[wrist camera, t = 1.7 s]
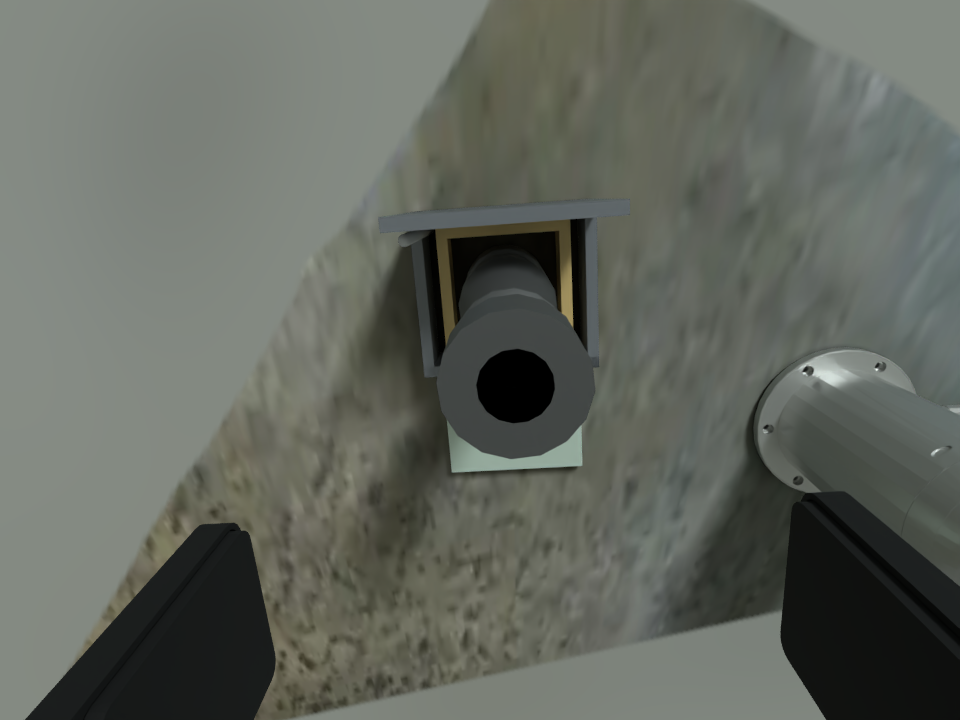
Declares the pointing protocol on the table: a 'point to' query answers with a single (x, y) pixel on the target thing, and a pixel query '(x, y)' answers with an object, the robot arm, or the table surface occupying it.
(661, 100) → the table surface
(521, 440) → the candle holder
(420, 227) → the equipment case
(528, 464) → the sage pad
